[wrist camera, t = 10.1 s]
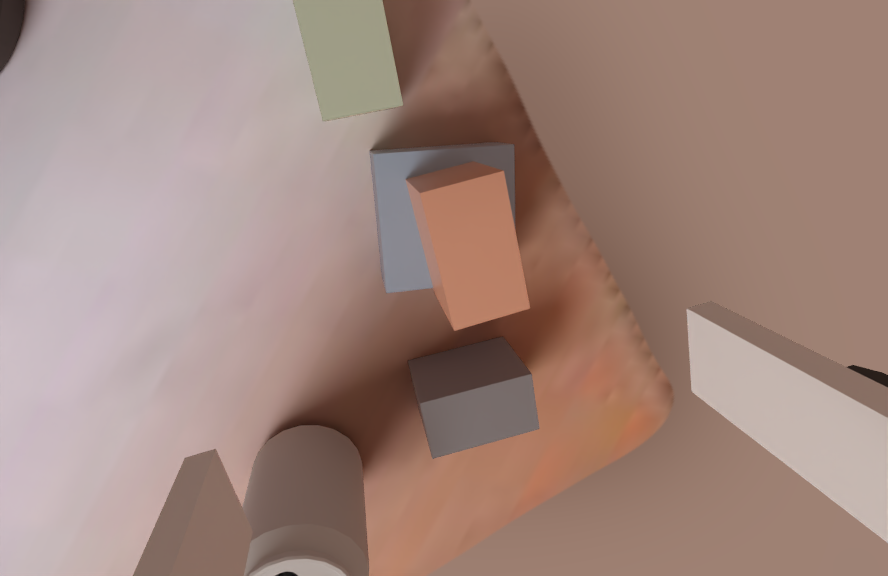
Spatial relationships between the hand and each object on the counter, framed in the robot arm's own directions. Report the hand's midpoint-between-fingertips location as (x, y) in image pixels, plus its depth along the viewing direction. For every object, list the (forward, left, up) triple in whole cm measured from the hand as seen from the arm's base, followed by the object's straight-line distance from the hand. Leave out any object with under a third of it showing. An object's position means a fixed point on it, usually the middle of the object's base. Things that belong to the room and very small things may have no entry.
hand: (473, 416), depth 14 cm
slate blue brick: (-2, +3, -21) cm, 22 cm away
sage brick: (-12, 0, -21) cm, 24 cm away
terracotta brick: (-1, +3, -17) cm, 18 cm away
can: (+14, -9, -21) cm, 27 cm away
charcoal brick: (+10, +3, -21) cm, 24 cm away
